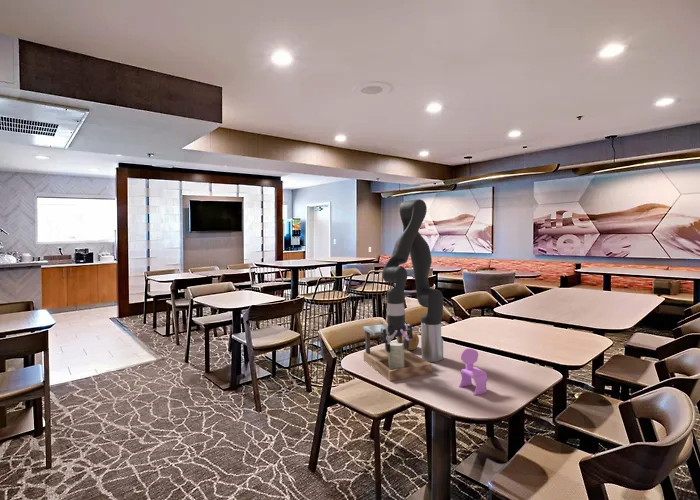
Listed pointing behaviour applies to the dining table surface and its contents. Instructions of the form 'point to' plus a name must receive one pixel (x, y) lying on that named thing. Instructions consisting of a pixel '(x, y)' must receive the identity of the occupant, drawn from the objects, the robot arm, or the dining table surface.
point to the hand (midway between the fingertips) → (397, 350)
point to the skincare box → (396, 356)
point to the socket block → (380, 358)
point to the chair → (472, 372)
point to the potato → (412, 341)
